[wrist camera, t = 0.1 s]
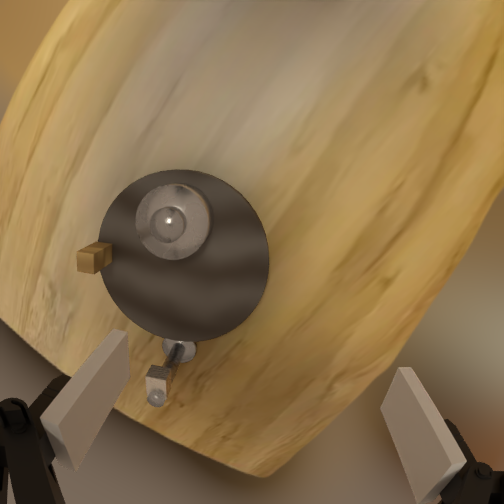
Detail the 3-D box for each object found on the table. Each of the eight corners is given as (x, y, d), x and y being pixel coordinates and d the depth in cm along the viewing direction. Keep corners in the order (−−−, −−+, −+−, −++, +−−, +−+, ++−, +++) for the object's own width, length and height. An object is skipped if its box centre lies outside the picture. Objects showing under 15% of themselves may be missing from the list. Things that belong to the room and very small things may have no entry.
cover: (150, 180, 36) (132, 182, 30) (217, 186, 36) (208, 189, 30) (146, 246, 38) (128, 258, 33) (210, 254, 38) (201, 269, 32)
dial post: (163, 325, 45) (133, 376, 32) (197, 331, 44) (175, 385, 32) (164, 356, 46) (136, 410, 34) (195, 362, 46) (176, 419, 34)
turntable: (106, 164, 37) (78, 165, 31) (280, 179, 37) (283, 182, 31) (106, 319, 43) (84, 342, 36) (256, 344, 43) (255, 374, 36)
